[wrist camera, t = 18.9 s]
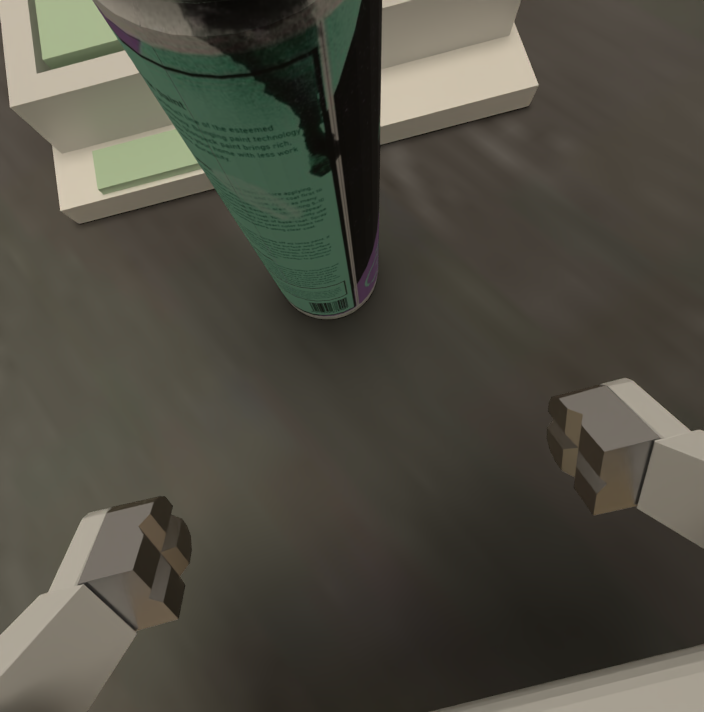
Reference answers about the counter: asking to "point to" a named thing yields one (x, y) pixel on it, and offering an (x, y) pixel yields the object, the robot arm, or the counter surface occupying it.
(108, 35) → the key green
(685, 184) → the counter surface
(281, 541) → the counter surface
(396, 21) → the keypad
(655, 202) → the counter surface
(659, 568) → the counter surface
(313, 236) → the spray can
